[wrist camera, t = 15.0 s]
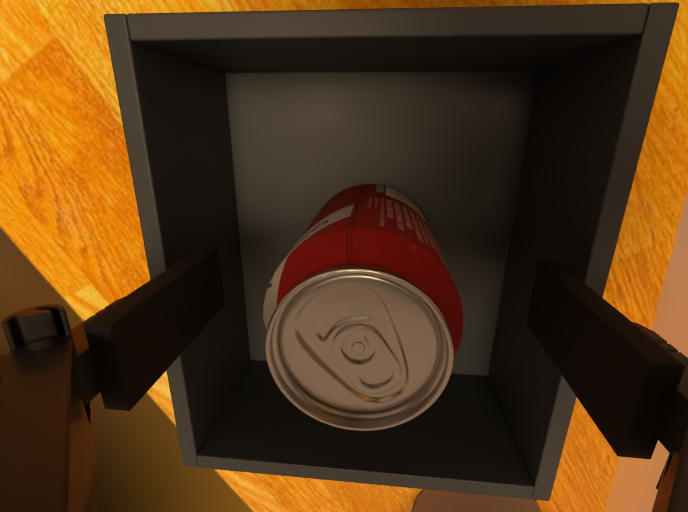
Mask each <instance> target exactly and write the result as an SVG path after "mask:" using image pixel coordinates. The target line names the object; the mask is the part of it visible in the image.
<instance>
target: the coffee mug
mask: <svg viewBox="0 0 688 512" xmlns="http://www.w3.org/2000/svg"><path fill="white" fill-rule="evenodd" d="M412 512H541V511H540V509H539V506H538V504H537V502H536V500H535V499H532V498H531V499H522V498H512V497H502V496H491V495H481V494H470V493H460V492H449V491H439V490H429V489H424V490H423V491H422V492H421V493H420V495H419V496H418V497H417V499H416V501H415V503H414V506H413V511H412Z"/></svg>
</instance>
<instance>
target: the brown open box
mask: <svg viewBox="0 0 688 512" xmlns="http://www.w3.org/2000/svg"><path fill="white" fill-rule="evenodd" d="M678 7H679V3H651V4H646V3H635V4H586V5H536V6H487V7H437V8H387V9H338V10H288V11H239V12H189V13H139V14H127V15H126V14H105V15H104V21H105V26H106V32H107V38H108V43H109V49H110V54H111V60H112V66H113V71H114V77H115V83H116V88H117V94H118V99H119V105H120V111H121V116H122V122H123V128H124V133H125V139H126V144H127V150H128V156H129V161H130V167H131V173H132V178H133V184H134V190H135V195H136V201H137V206H138V212H139V218H140V223H141V229H142V235H143V240H144V246H145V251H146V257H147V263H148V268H149V274H150V280H152V279H153V278H155V277H156V276H158V275H159V274H161V273H162V272H164V271H165V270H167V269H168V268H170V267H171V266H173V265H174V264H176V263H177V262H179V261H180V260H182V259H183V258H185V257H186V256H188V255H189V254H191V253H192V252H194V251H195V250H197V249H198V248H200V247H218V249H219V258H220V267H221V276H222V285H223V294H224V303H225V305H224V306H223V308H222V309H221V310H220V311H219V312H218V313H217V314H216V315H215V316H214V318H213V319H212V320H211V321H210V322H209V323H208V324H207V325H206V326H205V328H204V329H203V330H202V331H201V332H200V333H199V334H198V335H197V337H196V338H195V339H194V340H193V341H192V342H191V343H190V344H189V345H188V347H187V348H186V349H185V350H184V351H183V352H182V353H181V354H180V355H179V357H178V358H177V359H176V360H175V361H174V362H173V363H172V364H171V366H170V367H169V368H168V369H167V375H168V381H169V386H170V392H171V398H172V403H173V409H174V415H175V420H176V426H177V431H178V437H179V443H180V448H181V454H182V460H183V465H184V466H191V467H198V466H199V467H200V468H210V469H220V470H230V471H241V472H251V473H262V474H272V475H282V476H293V477H303V478H314V479H324V480H335V481H345V482H355V483H366V484H376V485H387V486H397V487H408V488H418V489H429V490H439V491H449V492H460V493H470V494H481V495H491V496H502V497H512V498H522V499H531V498H532V499H535V500H545V501H549V500H550V496H551V492H552V488H553V484H554V481H555V477H556V473H557V469H558V465H559V461H560V458H561V454H562V450H563V446H564V442H565V439H566V435H567V431H568V427H569V423H570V419H571V416H572V412H573V408H574V404H575V400H576V397H577V396H576V395H575V393H574V392H573V391H572V389H571V388H570V386H569V385H568V383H567V382H566V380H565V379H564V377H563V376H562V375H561V373H560V372H559V370H558V369H557V367H556V366H555V364H554V363H553V361H552V360H551V359H550V357H549V356H548V354H547V353H546V351H545V350H544V348H543V347H542V346H541V344H540V343H539V341H538V340H537V338H536V337H535V335H534V334H533V332H532V331H531V330H530V328H529V327H528V325H527V324H526V321H527V316H528V311H529V306H530V301H531V295H532V290H533V285H534V280H535V275H536V270H537V265H538V261H540V262H559V263H560V264H561V265H563V266H564V267H565V268H566V269H567V270H569V271H570V272H571V273H572V274H574V275H575V276H576V277H577V278H579V279H580V280H581V281H582V282H583V283H585V284H586V285H587V286H588V287H590V288H591V289H592V290H593V291H594V292H596V293H597V294H598V295H599V296H601V297H603V294H604V290H605V286H606V282H607V278H608V274H609V271H610V267H611V263H612V259H613V255H614V252H615V248H616V244H617V240H618V236H619V232H620V229H621V225H622V221H623V217H624V213H625V210H626V206H627V202H628V198H629V194H630V191H631V187H632V183H633V179H634V175H635V171H636V168H637V164H638V160H639V156H640V152H641V149H642V145H643V141H644V137H645V133H646V129H647V126H648V122H649V118H650V114H651V110H652V107H653V103H654V99H655V95H656V91H657V87H658V84H659V80H660V76H661V72H662V68H663V65H664V61H665V57H666V53H667V49H668V46H669V42H670V38H671V34H672V30H673V26H674V23H675V19H676V15H677V11H678ZM360 184H381V185H386V186H389V187H392V188H394V189H397V190H399V191H400V192H402V193H404V194H405V195H407V196H408V197H409V198H410V199H412V200H413V201H414V203H415V204H416V205H417V206H418V207H419V209H420V210H421V212H422V213H423V215H424V217H425V219H426V221H427V224H428V226H429V228H430V230H431V232H432V235H433V237H434V239H435V241H436V243H437V245H438V248H439V250H440V252H441V254H442V256H443V259H444V261H445V263H446V265H447V267H448V269H449V272H450V274H451V276H452V278H453V280H454V283H455V285H456V287H457V290H458V292H459V295H460V298H461V303H462V307H463V316H464V326H463V335H462V339H461V343H460V346H459V349H458V352H457V354H456V356H455V358H454V360H453V366H452V371H451V375H450V377H449V380H448V382H447V384H446V387H445V388H444V390H443V392H442V393H441V395H440V396H439V397H438V398H437V400H436V401H435V402H434V403H433V404H432V405H431V406H430V407H429V408H428V409H427V410H425V411H424V412H423V413H421V414H420V415H418V416H417V417H415V418H413V419H411V420H410V421H407V422H405V423H403V424H400V425H397V426H394V427H390V428H386V429H380V430H371V431H358V430H349V429H343V428H338V427H334V426H331V425H328V424H325V423H323V422H320V421H318V420H316V419H314V418H312V417H311V416H309V415H307V414H305V413H304V412H303V411H301V410H300V409H298V408H297V407H296V406H295V405H294V404H293V403H292V402H291V401H290V400H289V399H288V398H287V397H286V396H285V395H284V394H283V393H282V391H281V390H280V389H279V387H278V386H277V384H276V382H275V380H274V379H273V376H272V374H271V372H270V369H269V366H268V362H267V357H266V348H265V345H266V335H265V330H264V324H263V306H264V299H265V295H266V291H267V288H268V285H269V283H270V281H271V278H272V276H273V274H274V273H275V271H276V270H277V268H278V267H279V265H280V264H281V262H282V261H283V260H284V258H285V257H286V256H287V254H288V253H289V252H290V250H291V249H292V248H293V246H294V245H295V244H296V242H297V241H298V240H299V238H300V237H301V235H302V234H303V233H304V231H305V230H306V229H307V227H308V226H309V225H310V223H311V222H312V221H313V219H314V218H315V217H316V215H317V214H318V213H319V211H320V210H321V208H322V207H323V206H324V205H325V203H326V202H327V201H328V200H329V199H330V198H332V197H333V196H334V195H336V194H337V193H339V192H340V191H342V190H344V189H346V188H349V187H352V186H355V185H360Z"/></svg>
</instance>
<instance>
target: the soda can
mask: <svg viewBox="0 0 688 512" xmlns="http://www.w3.org/2000/svg"><path fill="white" fill-rule="evenodd" d="M263 324H264V330H265V335H266V345H265V348H266V357H267V362H268V366H269V369H270V372H271V374H272V376H273V379H274V380H275V382H276V384H277V386H278V387H279V389H280V390H281V391H282V393H283V394H284V395H285V396H286V397H287V398H288V399H289V400H290V401H291V402H292V403H293V404H294V405H295V406H296V407H297V408H298V409H300V410H301V411H303V412H304V413H305V414H307V415H309V416H311V417H312V418H314V419H316V420H318V421H320V422H323V423H325V424H328V425H331V426H334V427H338V428H343V429H349V430H358V431H371V430H380V429H386V428H390V427H394V426H397V425H400V424H403V423H405V422H407V421H410V420H411V419H413V418H415V417H417V416H418V415H420V414H421V413H423V412H424V411H425V410H427V409H428V408H429V407H430V406H431V405H432V404H433V403H434V402H435V401H436V400H437V398H438V397H439V396H440V395H441V393H442V392H443V390H444V388H445V387H446V384H447V382H448V380H449V377H450V375H451V371H452V366H453V360H454V358H455V356H456V354H457V352H458V349H459V346H460V343H461V339H462V335H463V326H464V316H463V307H462V303H461V298H460V295H459V292H458V290H457V287H456V285H455V283H454V280H453V278H452V276H451V274H450V272H449V269H448V267H447V265H446V263H445V261H444V259H443V256H442V254H441V252H440V250H439V248H438V245H437V243H436V241H435V239H434V237H433V235H432V232H431V230H430V228H429V226H428V224H427V221H426V219H425V217H424V215H423V213H422V212H421V210H420V209H419V207H418V206H417V205H416V204H415V203H414V201H413V200H412V199H410V198H409V197H408V196H407V195H405V194H404V193H402V192H400V191H399V190H397V189H394V188H392V187H389V186H386V185H381V184H360V185H355V186H352V187H349V188H346V189H344V190H342V191H340V192H339V193H337V194H336V195H334V196H333V197H332V198H330V199H329V200H328V201H327V202H326V203H325V205H324V206H323V207H322V208H321V210H320V211H319V213H318V214H317V215H316V217H315V218H314V219H313V221H312V222H311V223H310V225H309V226H308V227H307V229H306V230H305V231H304V233H303V234H302V235H301V237H300V238H299V240H298V241H297V242H296V244H295V245H294V246H293V248H292V249H291V250H290V252H289V253H288V254H287V256H286V257H285V258H284V260H283V261H282V262H281V264H280V265H279V267H278V268H277V270H276V271H275V273H274V274H273V276H272V278H271V281H270V283H269V285H268V288H267V291H266V295H265V299H264V306H263Z"/></svg>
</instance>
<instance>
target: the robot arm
mask: <svg viewBox="0 0 688 512" xmlns="http://www.w3.org/2000/svg"><path fill="white" fill-rule="evenodd" d="M224 305H225V303H224V294H223V285H222V276H221V267H220V258H219V249H218V247H200V248H198V249H197V250H195V251H194V252H192V253H191V254H189V255H188V256H186V257H185V258H183V259H182V260H180V261H179V262H177V263H176V264H174V265H173V266H171V267H170V268H168V269H167V270H165V271H164V272H162V273H161V274H159V275H158V276H156V277H155V278H153V279H152V280H150V281H149V282H147V283H146V284H144V285H143V286H141V287H140V288H138V289H137V290H135V291H134V292H132V293H131V294H129V295H128V296H126V297H123V298H121V299H118V300H116V301H114V302H113V303H111V304H110V305H108V306H107V307H105V309H102V310H101V311H99V312H98V313H96V314H95V315H93V316H91V317H90V318H88V319H87V320H85V321H84V322H82V323H81V324H79V325H78V326H76V327H75V328H73V329H70V325H69V322H68V318H67V315H66V311H65V308H64V307H63V306H61V305H57V304H49V305H48V304H47V305H40V306H35V307H31V308H27V309H23V310H21V311H18V312H16V313H13V314H12V315H10V316H8V317H6V318H5V319H4V320H3V321H2V322H1V324H2V327H3V330H4V333H5V336H6V339H7V341H8V345H9V347H10V350H11V351H10V353H6V354H0V512H98V499H97V498H98V496H97V478H96V457H95V437H94V418H93V409H92V405H91V402H90V401H91V400H92V399H93V398H94V397H95V396H96V395H97V394H98V393H100V392H101V395H102V399H103V403H104V406H105V409H115V410H126V411H130V410H131V409H132V408H133V407H134V406H135V405H136V403H137V402H138V401H139V400H140V399H141V398H142V397H143V396H144V394H145V393H146V392H147V391H148V390H149V389H150V388H151V387H152V386H153V384H154V383H155V382H156V381H157V380H158V379H159V378H160V377H161V376H162V374H163V373H164V372H165V371H166V370H167V369H168V368H169V367H170V366H171V364H172V363H173V362H174V361H175V360H176V359H177V358H178V357H179V355H180V354H181V353H182V352H183V351H184V350H185V349H186V348H187V347H188V345H189V344H190V343H191V342H192V341H193V340H194V339H195V338H196V337H197V335H198V334H199V333H200V332H201V331H202V330H203V329H204V328H205V326H206V325H207V324H208V323H209V322H210V321H211V320H212V319H213V318H214V316H215V315H216V314H217V313H218V312H219V311H220V310H221V309H222V308H223V306H224ZM526 324H527V325H528V327H529V328H530V330H531V331H532V332H533V334H534V335H535V337H536V338H537V340H538V341H539V343H540V344H541V346H542V347H543V348H544V350H545V351H546V353H547V354H548V356H549V357H550V359H551V360H552V361H553V363H554V364H555V366H556V367H557V369H558V370H559V372H560V373H561V375H562V376H563V377H564V379H565V380H566V382H567V383H568V385H569V386H570V388H571V389H572V391H573V392H574V393H575V395H576V396H577V398H578V399H579V401H580V402H581V404H582V405H583V407H584V408H585V409H586V411H587V412H588V414H589V415H590V417H591V418H592V420H593V421H594V422H595V424H596V425H597V427H598V428H599V430H600V431H601V433H602V434H603V436H604V437H605V438H606V440H607V441H608V443H609V444H610V446H611V447H612V449H613V450H614V452H615V453H616V454H617V456H621V457H632V458H642V459H651V457H652V454H653V451H654V449H655V446H656V443H657V441H658V440H659V441H660V442H661V443H662V445H663V446H664V447H665V448H666V449H667V450H668V451H669V453H670V454H669V456H668V459H667V461H666V464H665V467H664V469H663V472H662V474H661V476H660V479H659V482H658V484H657V487H656V489H658V492H657V496H656V499H655V503H654V506H653V510H652V512H688V358H687V357H686V356H684V355H683V354H682V353H679V352H678V350H677V349H676V348H674V347H673V346H672V345H670V344H667V341H665V340H664V339H663V338H661V337H660V336H659V335H658V334H656V333H655V332H653V331H652V330H650V329H648V328H646V327H644V326H642V325H640V324H638V323H634V322H631V321H630V320H629V319H627V318H626V317H625V316H624V315H623V314H621V313H620V312H619V311H618V310H616V309H615V308H614V307H613V306H612V305H610V304H609V303H608V302H607V301H605V300H604V299H603V298H602V297H601V296H599V295H598V294H597V293H596V292H594V291H593V290H592V289H591V288H590V287H588V286H587V285H586V284H585V283H583V282H582V281H581V280H580V279H579V278H577V277H576V276H575V275H574V274H572V273H571V272H570V271H569V270H567V269H566V268H565V267H564V266H563V265H561V264H560V263H559V262H540V261H538V265H537V270H536V275H535V280H534V285H533V290H532V295H531V301H530V306H529V311H528V316H527V321H526Z"/></svg>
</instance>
